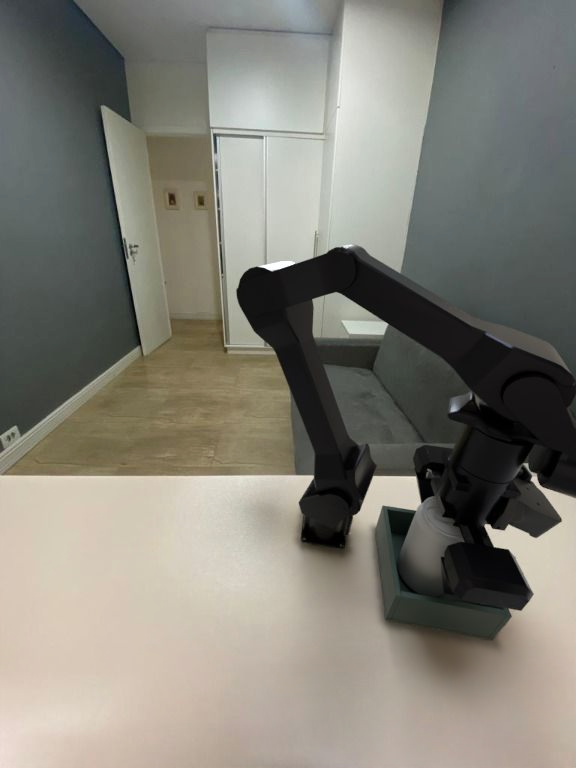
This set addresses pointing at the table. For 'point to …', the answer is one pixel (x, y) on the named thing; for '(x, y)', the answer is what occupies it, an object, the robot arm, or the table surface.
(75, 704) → the table surface
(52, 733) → the table surface
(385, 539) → the shallow open box
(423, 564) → the beverage can
